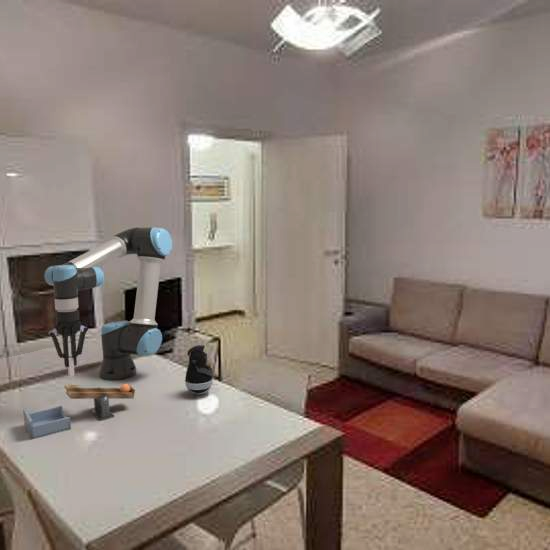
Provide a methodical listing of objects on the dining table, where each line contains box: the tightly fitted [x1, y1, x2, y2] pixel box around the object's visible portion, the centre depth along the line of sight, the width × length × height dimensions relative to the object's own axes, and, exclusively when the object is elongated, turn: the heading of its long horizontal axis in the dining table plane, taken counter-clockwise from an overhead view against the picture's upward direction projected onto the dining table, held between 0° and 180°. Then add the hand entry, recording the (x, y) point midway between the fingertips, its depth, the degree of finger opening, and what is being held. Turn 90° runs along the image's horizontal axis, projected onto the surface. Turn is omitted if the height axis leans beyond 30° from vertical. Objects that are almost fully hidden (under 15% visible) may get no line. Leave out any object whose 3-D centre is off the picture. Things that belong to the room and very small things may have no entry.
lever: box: [64, 384, 136, 400], centre depth 178 cm, size 22×13×3 cm, turn 126°
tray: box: [22, 405, 72, 440], centre depth 165 cm, size 12×12×6 cm
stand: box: [89, 386, 115, 422], centre depth 175 cm, size 5×11×8 cm, turn 36°
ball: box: [119, 383, 131, 393], centre depth 180 cm, size 4×4×4 cm
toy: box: [184, 344, 214, 395], centre depth 191 cm, size 11×11×20 cm
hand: (71, 375), depth 175 cm, fingers closed
